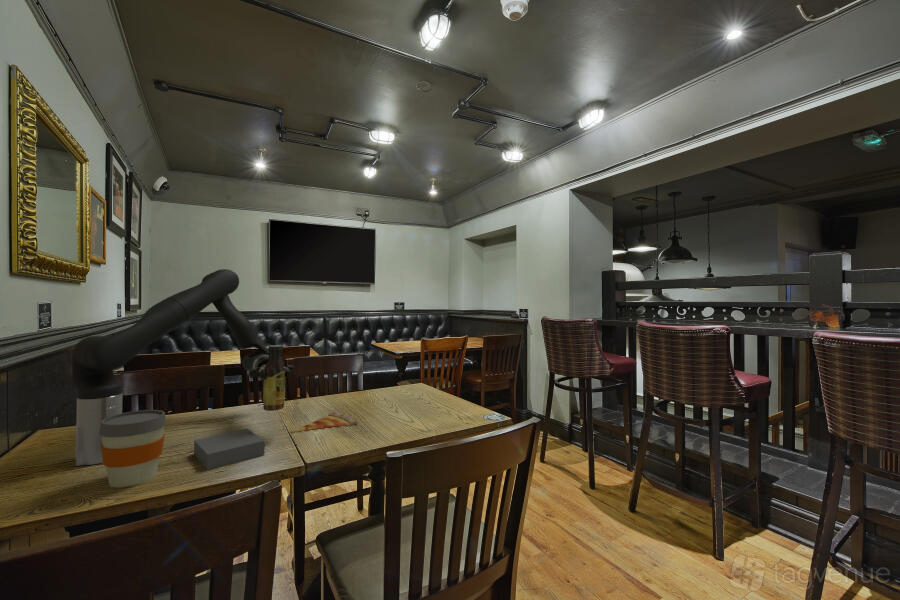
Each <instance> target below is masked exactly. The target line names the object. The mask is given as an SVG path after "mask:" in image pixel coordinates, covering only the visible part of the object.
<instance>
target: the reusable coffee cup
mask: <svg viewBox="0 0 900 600" xmlns="http://www.w3.org/2000/svg"><path fill="white" fill-rule="evenodd" d="M166 425H167V420H166V412H165V411H163V410H159V409H143V410H133V411H127V412H122V413H121V414H117V415H113V416H110V417H107V418H105V419H103V420H102V421H101V426H100V433H99V435H101V436H102V442H103V444H102V445H101V452H102V458H103V463H102V464H103V466H105V468H106V472H107V479H108V486H109V487H112V488H128V487H132V486H133V487H134V486H137V485H140V484H143V483H146V482H148V481H150V480H152V479H154V478H155V477H156V476H157V473H158V468H159V466H158V465H159V460H160V456H161V455H162V453H163V448H164V441H165V435H166V434H164V430H165V426H166Z"/></svg>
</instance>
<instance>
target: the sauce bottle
mask: <svg viewBox="0 0 900 600" xmlns="http://www.w3.org/2000/svg"><path fill="white" fill-rule="evenodd" d="M267 349H268V350H269V361H268V363H267V364H266V366H265V369H264V371H265V372H266V379H264V380H263V388H262V390H263V393H262V404H263V407H262V408H263V410H265V411H266V412H267V411H269V412H275V411H279V410H282V409H283V408H285V403H286V402H285V399H286V377H285V374H286V370H285V367H286V366H285V364H284V362H283V357H282V354H283V353H282V352H283V345H282V344H281V345H277V344H275V345H268V348H267Z"/></svg>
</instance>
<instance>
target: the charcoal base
mask: <svg viewBox="0 0 900 600" xmlns="http://www.w3.org/2000/svg"><path fill="white" fill-rule="evenodd" d="M193 455H194V456H195V457H196V459H197V460H198V461H199V462H200V463H201V465H203V467H204V466H205V467H204V468H205V469H206V470H207V471H208V470H209V471H210V470H213V469H216V468H220V467H224V466H228V465H231V464H235V463H239V462H242V461H246V460H250V459H254V458H258V457H262V456H265V439H263V438H261V436H259V435H257V434H256V433H255V432H253V431H252V430H250V429H249V428H245V429H240V430H235V431H231V432H230V431H229V432H225V433H221V434H217V435H212V436H206V437H202V438H198V439H194V441H193Z"/></svg>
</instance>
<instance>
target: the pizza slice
mask: <svg viewBox="0 0 900 600" xmlns="http://www.w3.org/2000/svg"><path fill="white" fill-rule="evenodd" d="M355 424H359V423H358V421H357V420H355V419H354V418H353V417H352V416H350V415H348V414H345V413H341V412H337V411H329V412H328V414H327V415H326V416H324V417H322V418H319V419H316V420H315V421H312V422H310V423H307V424H305V425H303V426H301V427H299V428H296V429H294V430H291V431H290V432H289V434H296V433H295V432H297V433H303V432H302V431H305V432H311V431H310V430H313V431H318V429H321V430H326V429H325V428H329V429H333V428H332V427H337V428H342V427H341V426H345V427H349V426H348V425H353V426H356V425H355ZM339 426H340V427H339Z"/></svg>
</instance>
